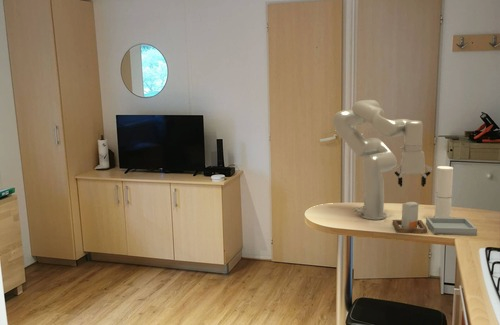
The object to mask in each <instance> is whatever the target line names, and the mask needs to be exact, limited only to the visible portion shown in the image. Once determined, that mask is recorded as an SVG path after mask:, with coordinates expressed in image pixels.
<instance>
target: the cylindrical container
mask: <svg viewBox="0 0 500 325" xmlns="http://www.w3.org/2000/svg"><path fill="white" fill-rule="evenodd" d="M436 170H437V171H436V186H435V202H434V203H435V204H434V205H435V207H434V218H451V216H452V213H451V212H452V197H453V182H454V180H453V179H454V167H452V166H448V165H439V166H437V169H436Z"/></svg>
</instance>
